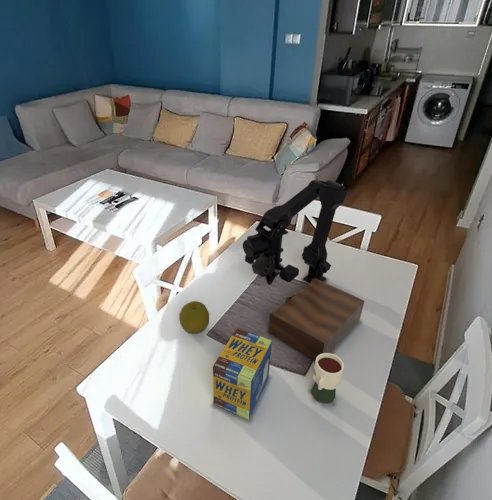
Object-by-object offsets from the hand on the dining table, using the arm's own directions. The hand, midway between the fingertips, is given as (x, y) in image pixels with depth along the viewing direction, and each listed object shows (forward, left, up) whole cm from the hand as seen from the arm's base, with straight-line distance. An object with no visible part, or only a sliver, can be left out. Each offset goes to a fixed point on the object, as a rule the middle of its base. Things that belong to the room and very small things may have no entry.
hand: (269, 284), depth 135 cm
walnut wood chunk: (+1, +19, -7) cm, 21 cm away
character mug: (+22, +35, -7) cm, 42 cm away
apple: (+28, -9, -7) cm, 31 cm away
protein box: (+36, +18, -7) cm, 41 cm away
